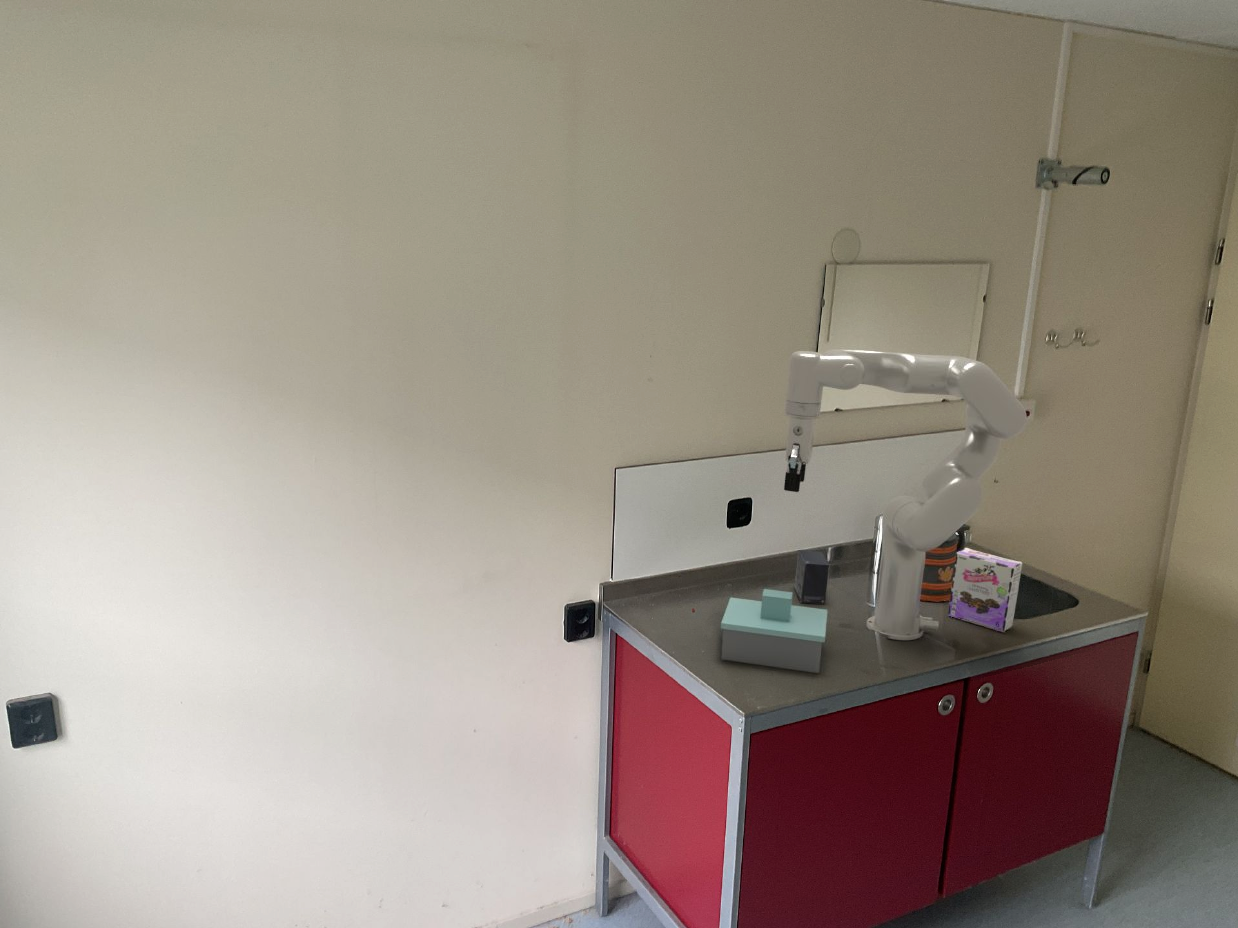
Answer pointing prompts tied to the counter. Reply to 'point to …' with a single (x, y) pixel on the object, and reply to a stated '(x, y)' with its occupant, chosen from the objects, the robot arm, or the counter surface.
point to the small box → (811, 577)
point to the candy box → (984, 588)
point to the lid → (775, 617)
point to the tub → (771, 650)
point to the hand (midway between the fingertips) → (794, 485)
